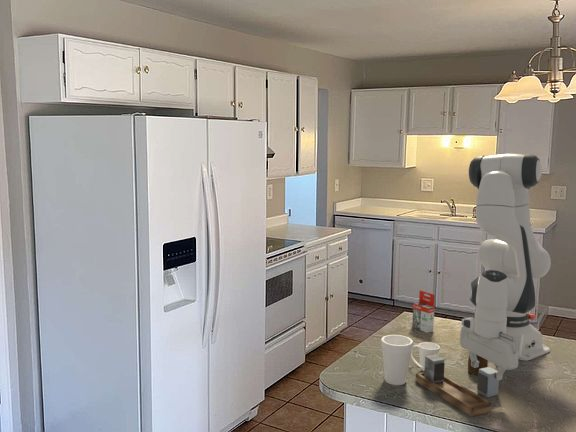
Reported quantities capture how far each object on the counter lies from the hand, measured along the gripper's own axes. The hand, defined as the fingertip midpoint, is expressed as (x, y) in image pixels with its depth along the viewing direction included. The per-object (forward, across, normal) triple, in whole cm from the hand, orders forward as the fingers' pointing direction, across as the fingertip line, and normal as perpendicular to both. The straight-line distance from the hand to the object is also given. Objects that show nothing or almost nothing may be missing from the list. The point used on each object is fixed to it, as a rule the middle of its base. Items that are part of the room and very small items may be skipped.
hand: (486, 372), depth 167 cm
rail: (+7, +3, +10) cm, 12 cm away
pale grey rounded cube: (+6, 0, -1) cm, 6 cm away
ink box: (+6, +52, -17) cm, 55 cm away
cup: (+7, +22, +5) cm, 23 cm away
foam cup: (+7, +18, +19) cm, 27 cm away
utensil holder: (+6, +13, -9) cm, 17 cm away
